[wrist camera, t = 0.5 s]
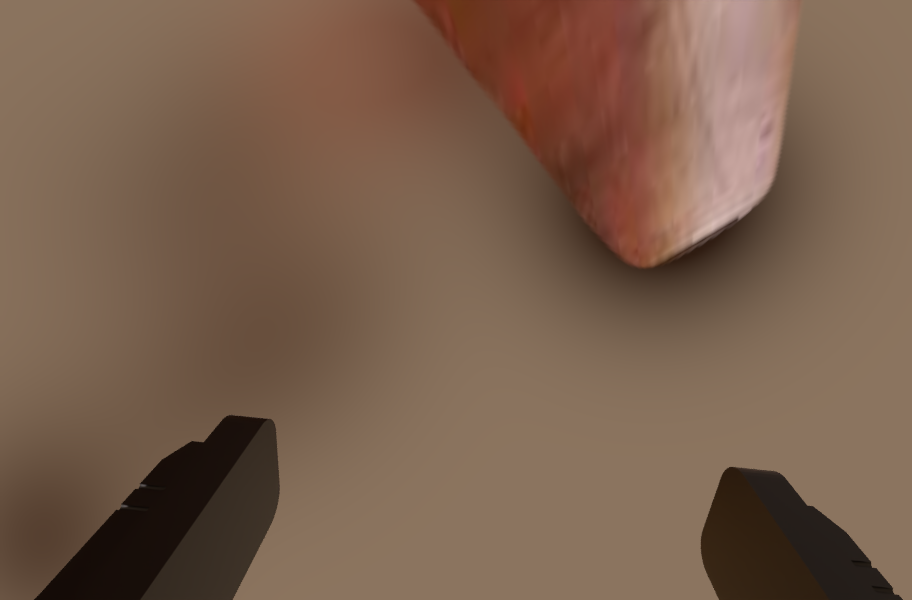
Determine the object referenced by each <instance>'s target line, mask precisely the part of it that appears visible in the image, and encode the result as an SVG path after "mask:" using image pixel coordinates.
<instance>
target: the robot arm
mask: <svg viewBox="0 0 912 600" xmlns="http://www.w3.org/2000/svg"><path fill="white" fill-rule="evenodd" d="M279 487H280V485H279V470H278V456H277V441H276V428H275V424H274V422H273V421H272V420H271V419H263V418H254V417H245V416H234V415H229V416H226V417H225V418H224V419H223V420H222V421H221V422H220V424H219V425H218V426H217V427H216V428H215V429H214V431H213V432H212V433H211V434H210V435H209V437H208V438H207V439H206V440H205V441H204V442H194V441H192V442H190V443H188V444H186V445H185V446H184V447H182V448H180V449H178V450H177V451H175V452H174V453H172V454H170V455H169V456H167V457H166V458H164V459H162V460H161V461H160V462H159V463H158V465H157V466H156V467H155V468H154V469H153V470H152V471H151V472H150V473H149V474H148V476H147V477H146V478H145V479H144V480H143V481H142V482H141V483H140V487H139V489H135V490H134V491H133V492H132V493H131V494H130V495H129V496H128V498H127V499H126V500H125V501H124V502H123V503H122V504H121V508H120V510H116V511H115V512H114V513H113V514H112V515H111V516H110V517H109V518H108V520H107V521H106V522H105V523H104V524H103V525H102V526H101V527H100V528H99V529H98V530H97V532H96V533H95V534H94V535H93V536H92V537H91V538H90V539H89V540H88V542H87V543H86V544H85V545H84V546H83V547H82V548H81V549H80V550H79V552H78V553H77V554H76V555H75V556H74V557H73V558H72V559H71V560H70V561H69V562H68V563H67V565H66V566H65V567H64V568H63V569H62V570H61V571H60V572H59V573H58V574H57V576H56V577H55V578H54V579H53V580H52V581H51V582H50V583H49V585H47V586H46V588H45V589H44V590H43V591H42V592H41V593H40V594H39V595H38V596H37V597H36V598H35V599H34V600H233V598H234V596H235V594H236V592H237V590H238V588H239V586H240V584H241V582H242V580H243V578H244V576H245V574H246V572H247V570H248V568H249V566H250V564H251V562H252V560H253V558H254V557H255V555H256V553H257V551H258V549H259V547H260V545H261V543H262V541H263V539H264V537H265V535H266V533H267V531H268V529H269V527H270V525H271V523H272V521H273V518H274V515H275V512H276V509H277V505H278V499H279V490H280V488H279ZM701 554H702V559H703V564H704V567H705V570H706V572H707V574H708V577H709V579H710V581H711V583H712V585H713V588H714V590H715V591H716V594H717V596H718V598H719V600H903V599H902V598H901V597H900V596H899V595H895V594H894V593H893V588H892V586H891V585H890V584H889V583H888V582H887V580H886V579H885V578H884V577H883V576H882V574H880V572H879V571H878V570H877V568H872V566H871V561H870V560H869V559H868V558H867V557H866V555H865V554H864V553H863V552H862V551H861V549H859V547H858V546H857V545H856V544H855V542H854V541H853V540H852V539H851V538H850V536H849V535H848V534H847V533H846V532H845V531H844V530H842V529H841V528H840V527H839V526H837V525H836V524H835V523H833V522H832V521H831V520H830V519H828V518H827V517H826V516H825V515H823V514H822V513H821V512H820V511H818V510H817V509H815V508H814V507H813V506H807V505H806V504H805V502H804V501H803V500H802V499H801V497H800V496H799V495H798V493H797V492H796V491H795V490H794V488H793V487H792V486H791V485H790V484H789V482H788V481H787V480H786V478H785V477H784V476H783V475H781V474H780V473H778V472H775V471H766V470H757V469H747V468H736V467H729V468H727V469H726V470H725V471H724V473H723V474H722V477H721V479H720V482H719V485H718V488H717V491H716V494H715V497H714V499H713V502H712V505H711V508H710V511H709V514H708V517H707V520H706V523H705V526H704V528H703V532H702V536H701Z"/></svg>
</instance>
